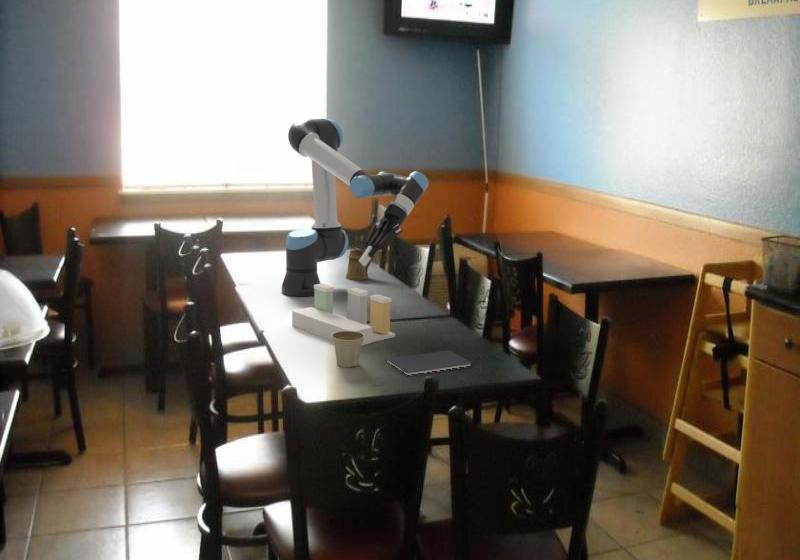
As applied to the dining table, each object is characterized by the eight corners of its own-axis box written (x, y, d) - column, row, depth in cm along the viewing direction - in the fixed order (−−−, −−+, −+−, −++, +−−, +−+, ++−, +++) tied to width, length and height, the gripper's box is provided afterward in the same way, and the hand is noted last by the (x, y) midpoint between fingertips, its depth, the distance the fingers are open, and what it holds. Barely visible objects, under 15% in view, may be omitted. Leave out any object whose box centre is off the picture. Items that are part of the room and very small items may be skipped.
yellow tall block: (376, 327, 263) (377, 294, 261) (390, 332, 259) (391, 298, 256) (369, 329, 261) (369, 295, 258) (382, 334, 257) (383, 299, 254)
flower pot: (331, 358, 237) (331, 330, 235) (363, 359, 237) (364, 330, 236) (331, 369, 228) (331, 340, 226) (364, 369, 228) (365, 340, 226)
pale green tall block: (321, 315, 275) (321, 283, 273) (333, 319, 271) (334, 287, 268) (313, 317, 273) (313, 284, 270) (325, 321, 268) (326, 288, 266)
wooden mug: (379, 280, 336) (381, 236, 331) (347, 280, 333) (347, 236, 329) (377, 275, 344) (378, 233, 340) (345, 275, 342) (345, 232, 338)
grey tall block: (354, 320, 271) (355, 287, 268) (367, 324, 267) (368, 291, 264) (346, 322, 269) (347, 289, 266) (359, 326, 264) (360, 292, 262)
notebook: (449, 355, 245) (386, 363, 236) (449, 350, 245) (386, 358, 235) (472, 368, 234) (406, 377, 225) (472, 362, 234) (406, 372, 224)
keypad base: (334, 316, 280) (334, 302, 279) (395, 336, 260) (395, 321, 258) (292, 325, 268) (292, 310, 267) (352, 347, 247) (352, 331, 246)
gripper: (417, 219, 281) (380, 273, 273) (390, 215, 290) (355, 267, 283) (406, 205, 276) (369, 259, 269) (380, 201, 285) (343, 253, 278)
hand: (362, 263), depth 276 cm, fingers closed
